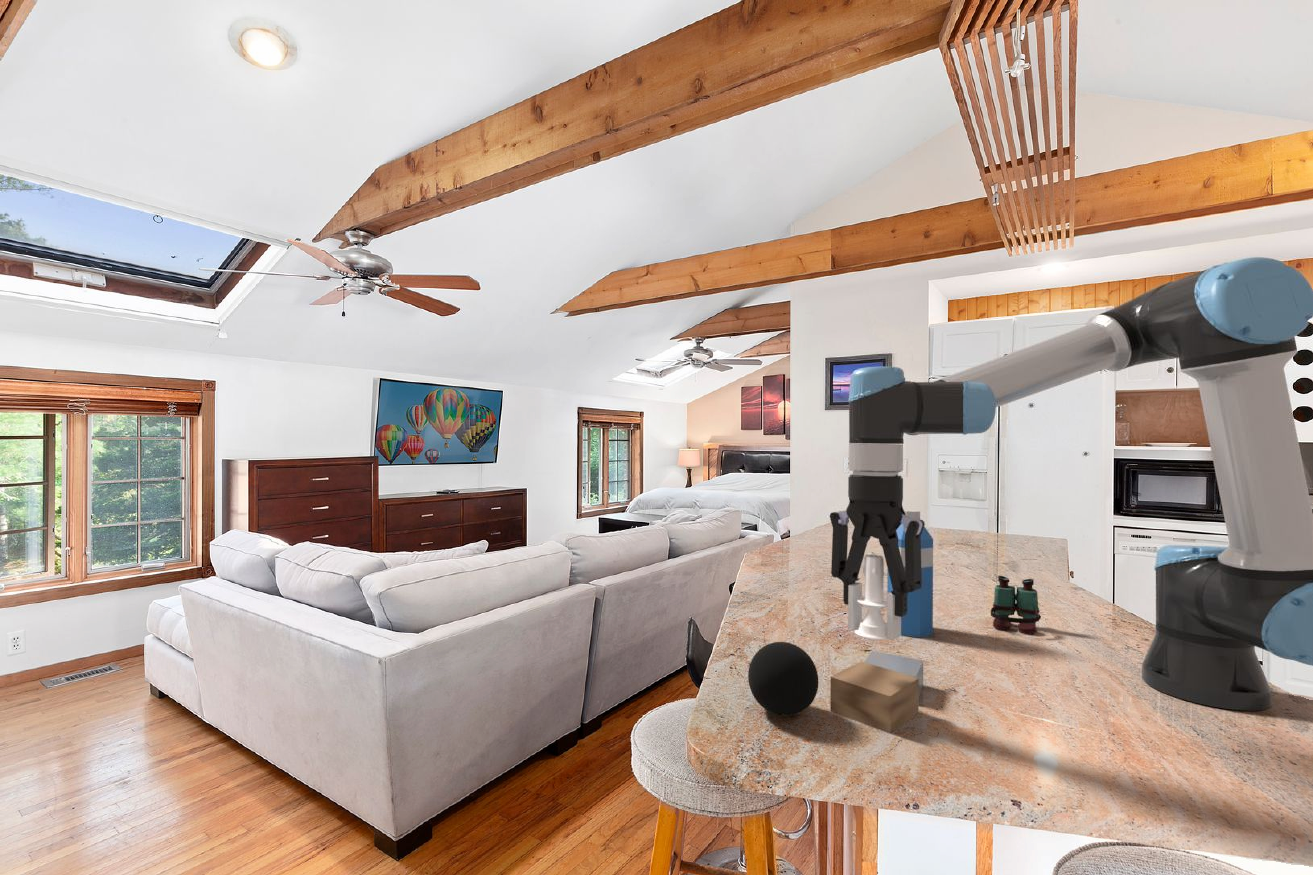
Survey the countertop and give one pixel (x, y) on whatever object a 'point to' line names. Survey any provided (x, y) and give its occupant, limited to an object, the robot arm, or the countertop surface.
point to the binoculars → (1015, 606)
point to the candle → (873, 600)
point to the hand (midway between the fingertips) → (874, 632)
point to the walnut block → (875, 696)
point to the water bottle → (921, 600)
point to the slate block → (898, 664)
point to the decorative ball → (783, 678)
